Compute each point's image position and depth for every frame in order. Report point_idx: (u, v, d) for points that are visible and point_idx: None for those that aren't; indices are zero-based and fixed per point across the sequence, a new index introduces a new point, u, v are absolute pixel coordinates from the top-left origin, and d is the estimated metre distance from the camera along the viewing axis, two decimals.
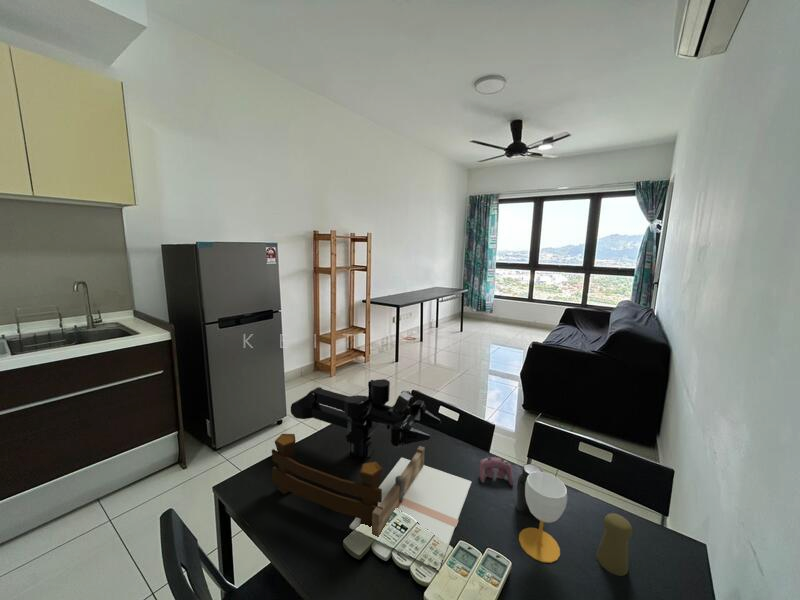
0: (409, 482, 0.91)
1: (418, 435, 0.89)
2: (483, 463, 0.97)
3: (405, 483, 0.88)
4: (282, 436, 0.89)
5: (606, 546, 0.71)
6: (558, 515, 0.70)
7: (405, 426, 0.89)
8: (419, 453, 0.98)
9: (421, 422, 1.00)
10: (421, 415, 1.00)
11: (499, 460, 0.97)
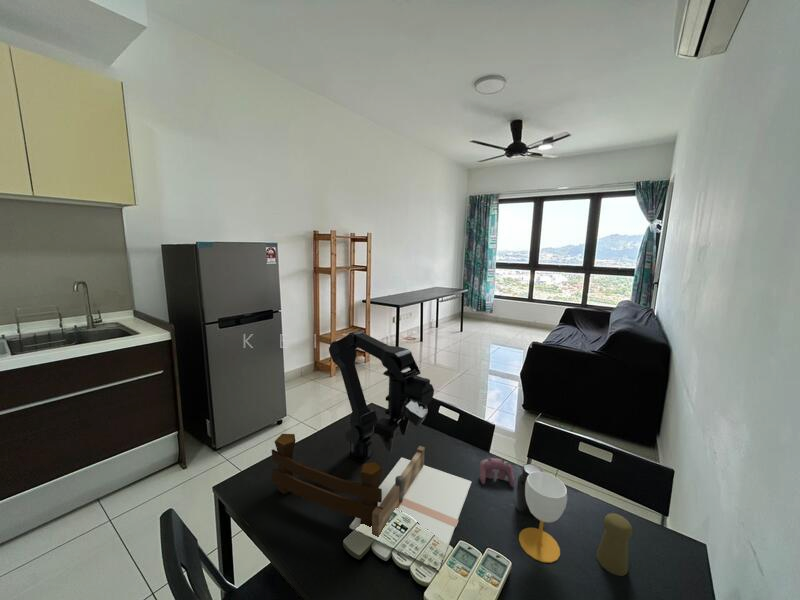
0: (409, 482, 0.91)
1: (388, 443, 0.89)
2: (483, 464, 0.97)
3: (405, 483, 0.88)
4: (282, 436, 0.89)
5: (606, 546, 0.71)
6: (558, 515, 0.70)
7: (394, 437, 0.86)
8: (419, 453, 0.98)
9: None
10: None
11: (499, 461, 0.97)
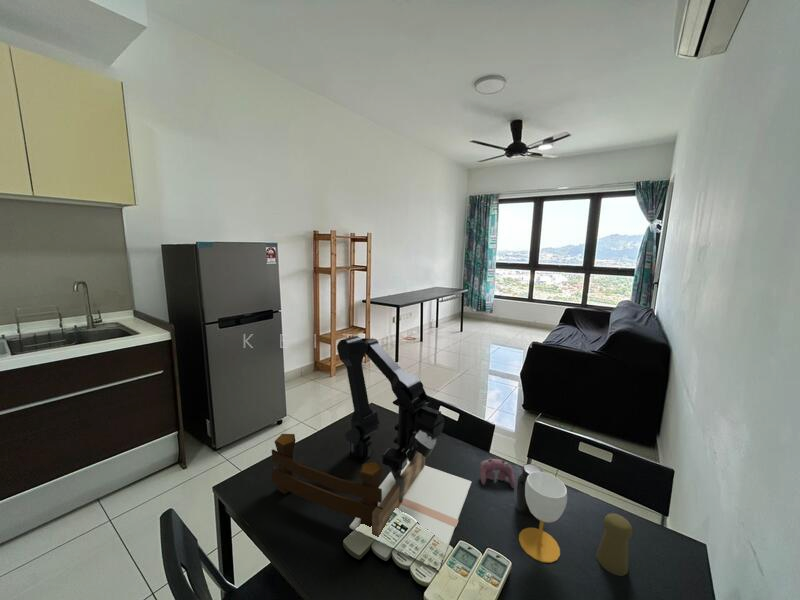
0: (409, 482, 0.91)
1: (396, 473, 0.89)
2: (484, 465, 0.97)
3: (405, 483, 0.88)
4: (282, 436, 0.89)
5: (606, 546, 0.71)
6: (558, 515, 0.70)
7: None
8: (420, 453, 0.98)
9: None
10: None
11: (500, 462, 0.97)
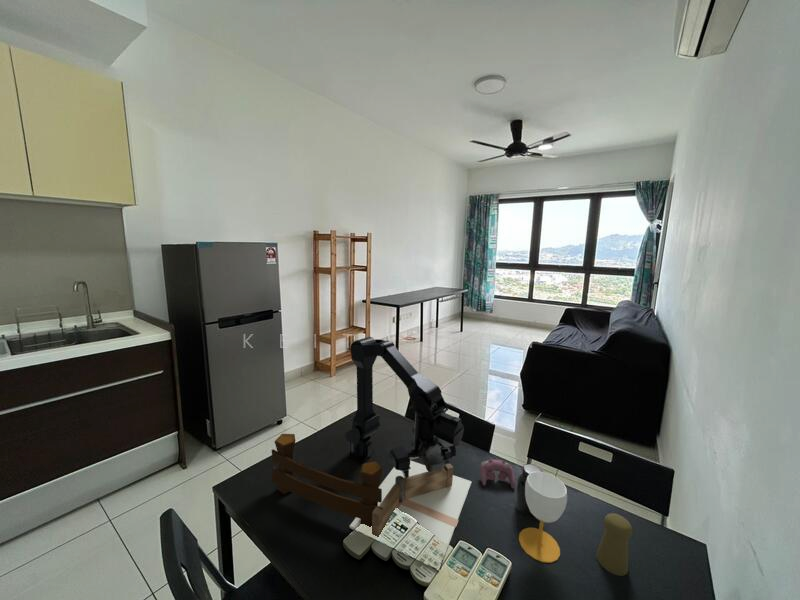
0: (417, 490, 0.88)
1: (404, 474, 0.89)
2: (484, 466, 0.96)
3: (408, 487, 0.87)
4: (282, 436, 0.89)
5: (606, 546, 0.71)
6: (558, 515, 0.70)
7: (403, 470, 0.85)
8: (443, 470, 0.91)
9: None
10: None
11: (500, 462, 0.96)
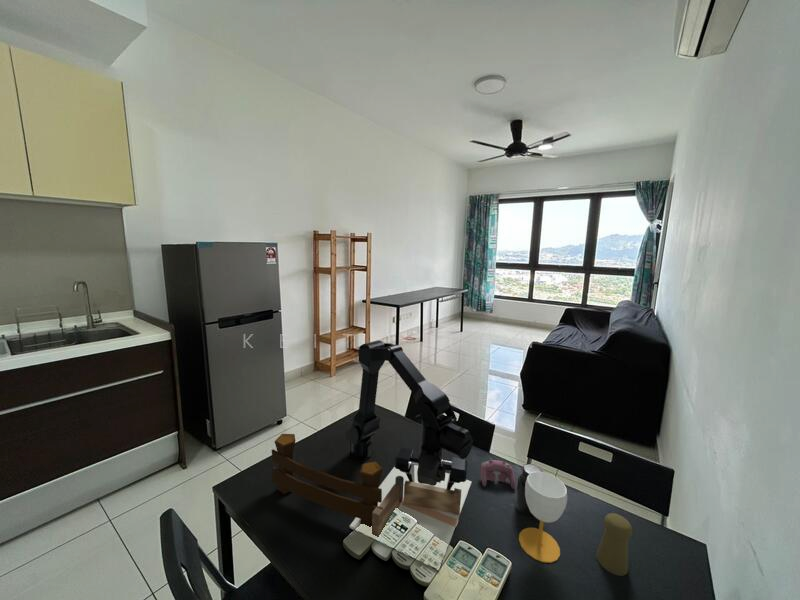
0: (417, 500, 0.85)
1: None
2: (484, 466, 0.96)
3: (407, 492, 0.85)
4: (282, 436, 0.89)
5: (606, 546, 0.71)
6: (558, 515, 0.70)
7: (402, 471, 0.85)
8: (450, 492, 0.83)
9: None
10: (449, 474, 0.85)
11: (500, 463, 0.96)
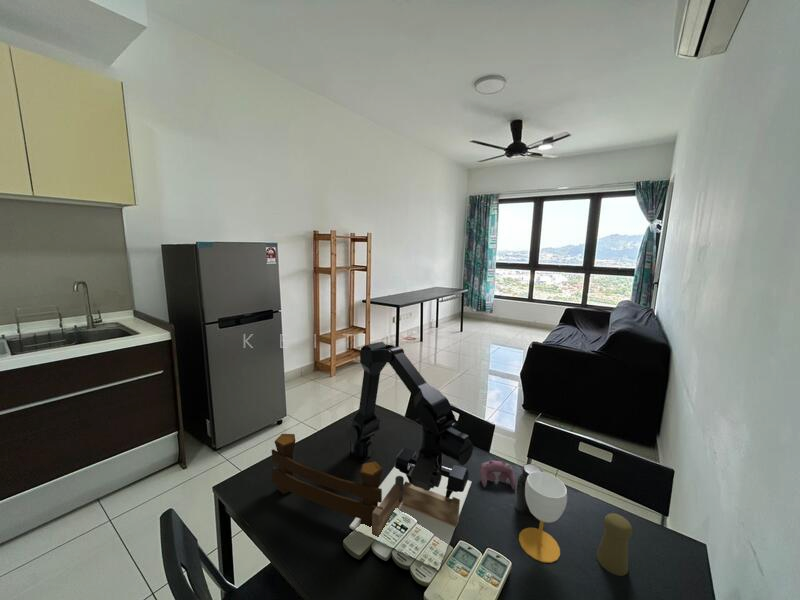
0: (415, 503, 0.84)
1: None
2: (484, 467, 0.96)
3: (406, 493, 0.85)
4: (282, 436, 0.89)
5: (606, 546, 0.71)
6: (558, 515, 0.70)
7: (402, 472, 0.85)
8: (447, 500, 0.80)
9: None
10: None
11: (501, 463, 0.96)
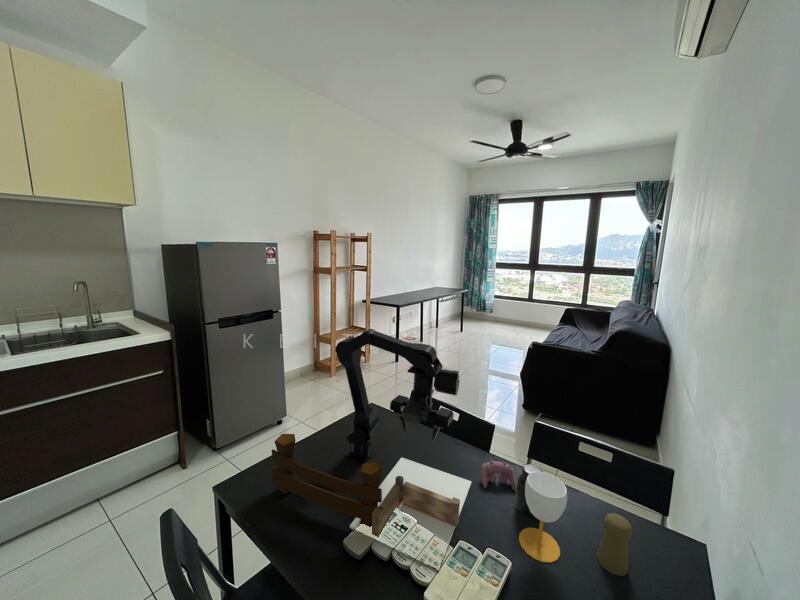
0: (415, 503, 0.84)
1: None
2: (485, 468, 0.95)
3: (406, 493, 0.85)
4: (282, 436, 0.89)
5: (606, 546, 0.71)
6: (558, 515, 0.70)
7: (396, 413, 0.98)
8: (447, 500, 0.80)
9: None
10: None
11: (501, 464, 0.95)
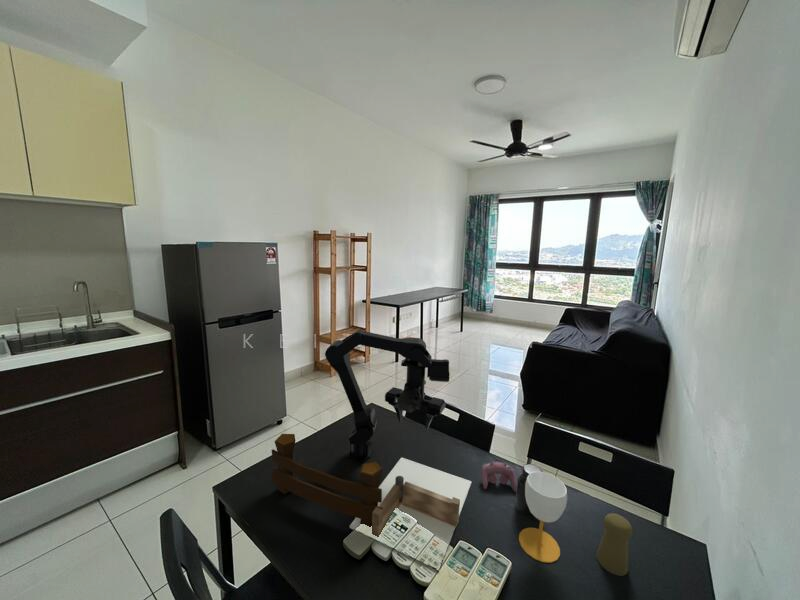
0: (415, 503, 0.84)
1: None
2: (485, 468, 0.95)
3: (406, 493, 0.85)
4: (282, 436, 0.89)
5: (606, 546, 0.71)
6: (558, 515, 0.70)
7: (390, 404, 1.02)
8: (447, 500, 0.80)
9: None
10: None
11: (502, 465, 0.95)
